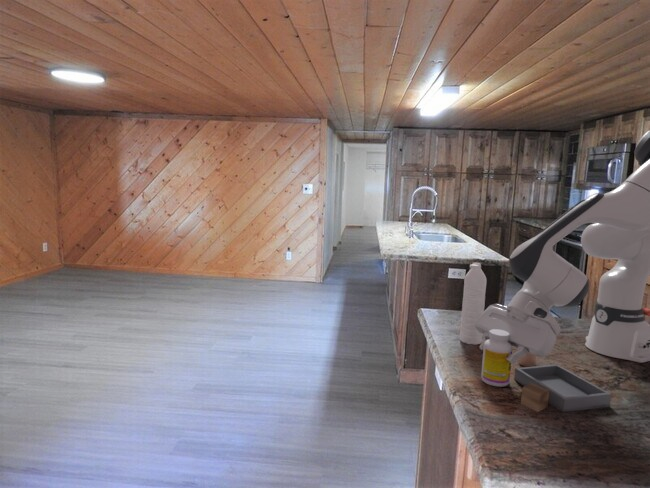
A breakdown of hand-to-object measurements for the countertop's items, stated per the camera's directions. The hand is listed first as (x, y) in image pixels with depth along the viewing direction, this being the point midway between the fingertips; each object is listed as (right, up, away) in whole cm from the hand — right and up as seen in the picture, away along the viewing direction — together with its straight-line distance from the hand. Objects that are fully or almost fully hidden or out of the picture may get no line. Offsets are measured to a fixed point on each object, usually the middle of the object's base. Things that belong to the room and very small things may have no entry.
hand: (495, 355), depth 107 cm
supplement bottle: (0, -7, +1) cm, 7 cm away
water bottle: (+3, -3, +28) cm, 28 cm away
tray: (+14, -8, -3) cm, 16 cm away
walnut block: (+5, -9, -10) cm, 14 cm away
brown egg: (+14, -5, +13) cm, 20 cm away
